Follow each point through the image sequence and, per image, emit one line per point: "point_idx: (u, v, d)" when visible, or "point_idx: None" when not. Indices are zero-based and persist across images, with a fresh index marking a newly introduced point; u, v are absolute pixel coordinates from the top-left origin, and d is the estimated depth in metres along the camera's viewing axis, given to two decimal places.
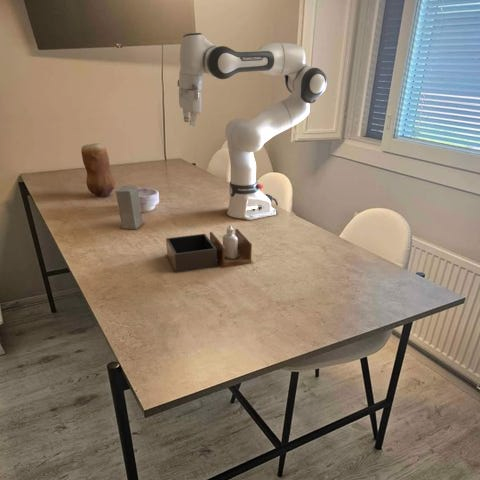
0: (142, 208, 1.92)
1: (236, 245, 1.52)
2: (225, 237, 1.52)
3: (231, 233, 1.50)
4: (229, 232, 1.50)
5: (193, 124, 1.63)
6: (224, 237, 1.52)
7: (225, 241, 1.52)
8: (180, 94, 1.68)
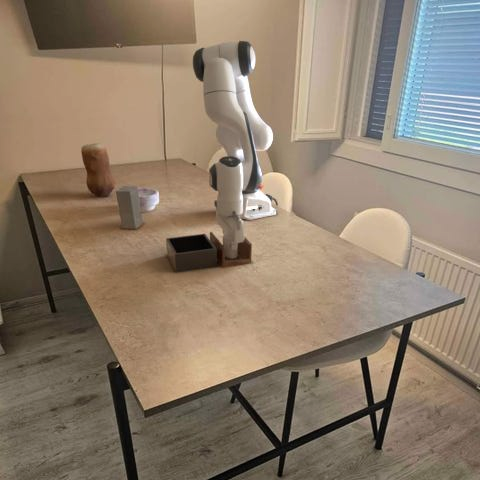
0: (142, 208, 1.92)
1: (236, 245, 1.52)
2: (225, 237, 1.52)
3: None
4: None
5: (234, 247, 1.50)
6: (224, 237, 1.52)
7: (225, 241, 1.52)
8: (217, 213, 1.54)
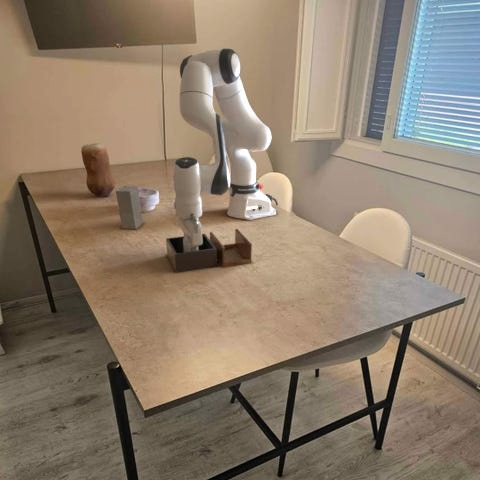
0: (142, 208, 1.92)
1: None
2: (185, 239, 1.48)
3: None
4: None
5: None
6: (184, 239, 1.48)
7: (185, 243, 1.48)
8: None
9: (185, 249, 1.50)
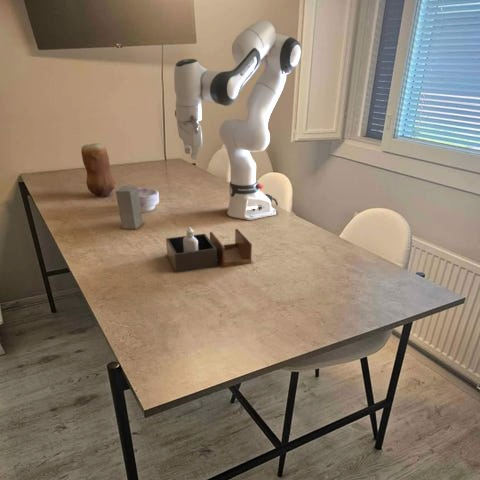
0: (142, 208, 1.92)
1: (196, 247, 1.49)
2: (185, 239, 1.48)
3: (191, 236, 1.47)
4: (189, 234, 1.46)
5: (195, 157, 1.50)
6: (184, 239, 1.48)
7: (185, 243, 1.48)
8: (179, 124, 1.55)
9: (185, 249, 1.50)
